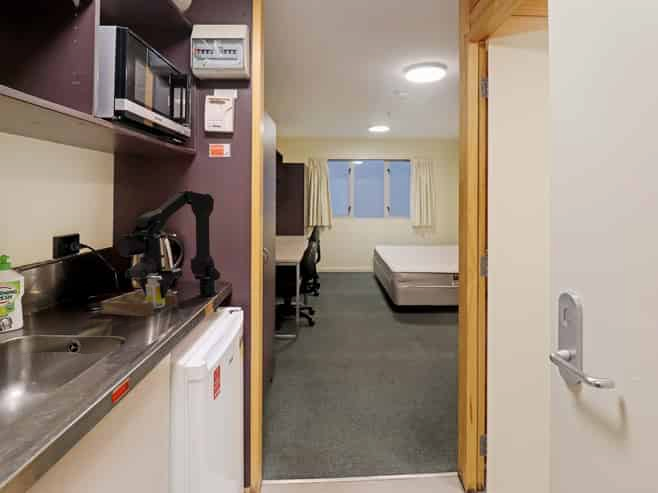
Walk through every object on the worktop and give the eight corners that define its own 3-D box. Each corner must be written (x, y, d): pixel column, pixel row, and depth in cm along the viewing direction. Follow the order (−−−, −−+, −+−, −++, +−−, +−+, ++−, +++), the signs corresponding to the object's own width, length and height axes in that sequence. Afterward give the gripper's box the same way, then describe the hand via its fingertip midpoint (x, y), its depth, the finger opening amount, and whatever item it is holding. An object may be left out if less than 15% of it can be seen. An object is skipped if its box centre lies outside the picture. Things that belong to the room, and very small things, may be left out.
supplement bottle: (166, 304, 133) (164, 275, 132) (163, 308, 128) (160, 278, 127) (149, 305, 132) (147, 276, 131) (145, 309, 127) (142, 279, 126)
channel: (143, 299, 147) (142, 289, 147) (188, 301, 142) (187, 290, 141) (101, 313, 128) (100, 301, 128) (151, 316, 123) (150, 304, 123)
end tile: (158, 306, 136) (158, 305, 136) (175, 306, 134) (175, 306, 134) (136, 314, 126) (136, 313, 126) (154, 315, 124) (154, 315, 124)
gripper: (109, 255, 123) (114, 303, 125) (159, 256, 118) (163, 305, 120) (135, 251, 133) (139, 294, 135) (181, 251, 129) (185, 297, 130)
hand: (155, 298), depth 130 cm, fingers closed on supplement bottle, 5 cm apart
